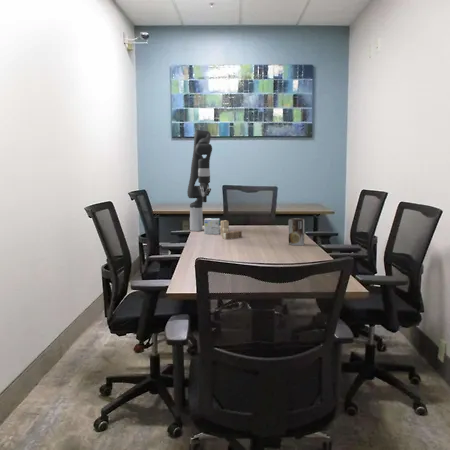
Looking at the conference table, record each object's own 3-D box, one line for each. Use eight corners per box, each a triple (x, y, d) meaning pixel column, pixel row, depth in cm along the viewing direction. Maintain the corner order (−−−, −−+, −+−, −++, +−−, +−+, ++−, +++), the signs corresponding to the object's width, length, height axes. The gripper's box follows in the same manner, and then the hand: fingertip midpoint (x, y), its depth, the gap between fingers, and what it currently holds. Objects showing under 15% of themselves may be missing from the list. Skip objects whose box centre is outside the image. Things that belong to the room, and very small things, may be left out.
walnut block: (221, 232, 304) (238, 230, 312) (221, 238, 305) (238, 236, 313) (225, 233, 301) (241, 231, 309) (225, 239, 302) (241, 237, 310)
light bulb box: (220, 232, 328) (219, 218, 327) (219, 234, 322) (218, 219, 320) (205, 232, 329) (205, 217, 328) (204, 234, 323) (203, 219, 321)
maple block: (220, 234, 319) (220, 220, 317) (225, 234, 321) (225, 220, 320) (224, 235, 316) (223, 221, 314) (228, 235, 318) (228, 220, 317)
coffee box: (304, 243, 284) (305, 218, 281) (302, 245, 278) (303, 219, 275) (290, 243, 287) (290, 217, 284) (288, 245, 281) (288, 219, 278)
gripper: (214, 175, 287) (215, 202, 291) (203, 174, 298) (203, 200, 301) (204, 176, 283) (205, 203, 286) (193, 174, 294) (194, 201, 297)
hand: (204, 202), depth 294 cm, fingers closed
